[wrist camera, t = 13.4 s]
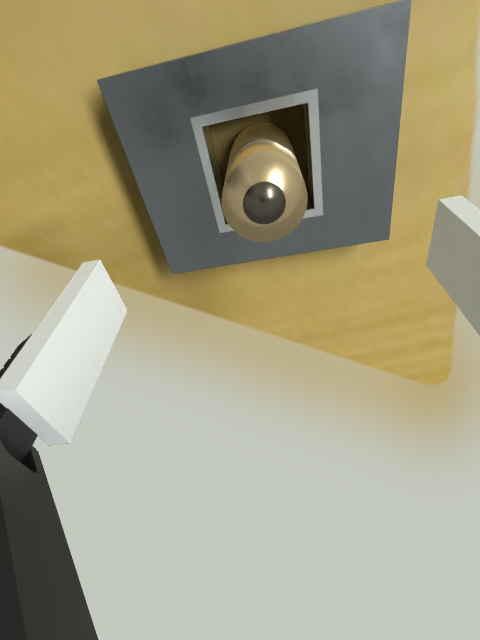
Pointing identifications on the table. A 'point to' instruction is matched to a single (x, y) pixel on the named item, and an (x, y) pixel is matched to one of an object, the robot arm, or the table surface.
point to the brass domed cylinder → (263, 185)
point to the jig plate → (263, 96)
